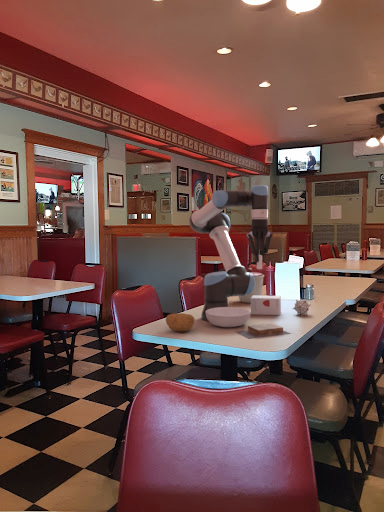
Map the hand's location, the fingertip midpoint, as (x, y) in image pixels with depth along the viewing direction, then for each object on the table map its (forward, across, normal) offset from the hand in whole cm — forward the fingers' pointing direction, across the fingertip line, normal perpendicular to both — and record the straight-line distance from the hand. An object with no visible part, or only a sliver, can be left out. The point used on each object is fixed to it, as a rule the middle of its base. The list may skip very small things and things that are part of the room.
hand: (259, 268), depth 192 cm
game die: (+27, +29, +8) cm, 40 cm away
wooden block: (+24, -13, -19) cm, 33 cm away
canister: (+28, +22, +55) cm, 66 cm away
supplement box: (+22, +7, +23) cm, 33 cm away
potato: (+26, -40, -1) cm, 48 cm away
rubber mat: (+25, -8, -19) cm, 33 cm away
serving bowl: (+26, -16, 0) cm, 31 cm away
